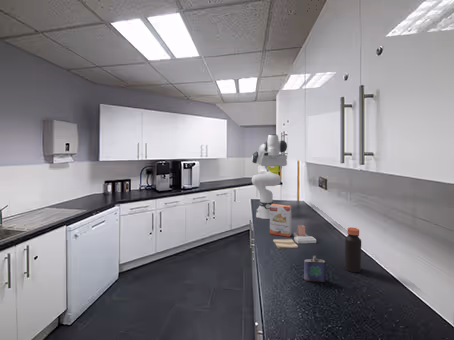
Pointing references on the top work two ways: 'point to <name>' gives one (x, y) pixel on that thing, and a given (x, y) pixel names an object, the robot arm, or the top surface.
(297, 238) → the dispenser
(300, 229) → the block
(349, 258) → the bottle
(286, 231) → the cracker box
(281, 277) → the top surface
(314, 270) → the flask
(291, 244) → the board
